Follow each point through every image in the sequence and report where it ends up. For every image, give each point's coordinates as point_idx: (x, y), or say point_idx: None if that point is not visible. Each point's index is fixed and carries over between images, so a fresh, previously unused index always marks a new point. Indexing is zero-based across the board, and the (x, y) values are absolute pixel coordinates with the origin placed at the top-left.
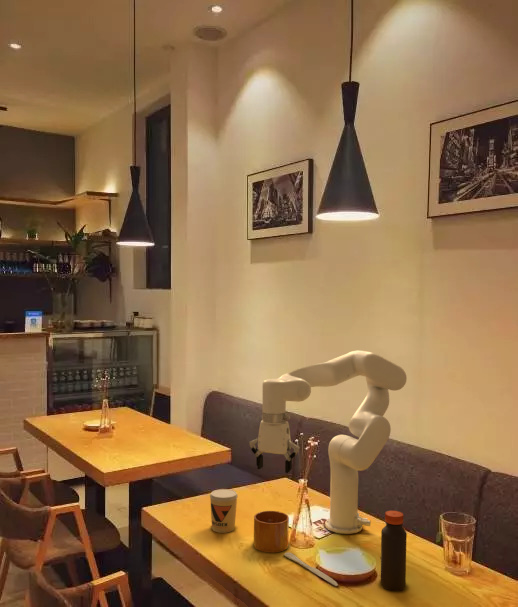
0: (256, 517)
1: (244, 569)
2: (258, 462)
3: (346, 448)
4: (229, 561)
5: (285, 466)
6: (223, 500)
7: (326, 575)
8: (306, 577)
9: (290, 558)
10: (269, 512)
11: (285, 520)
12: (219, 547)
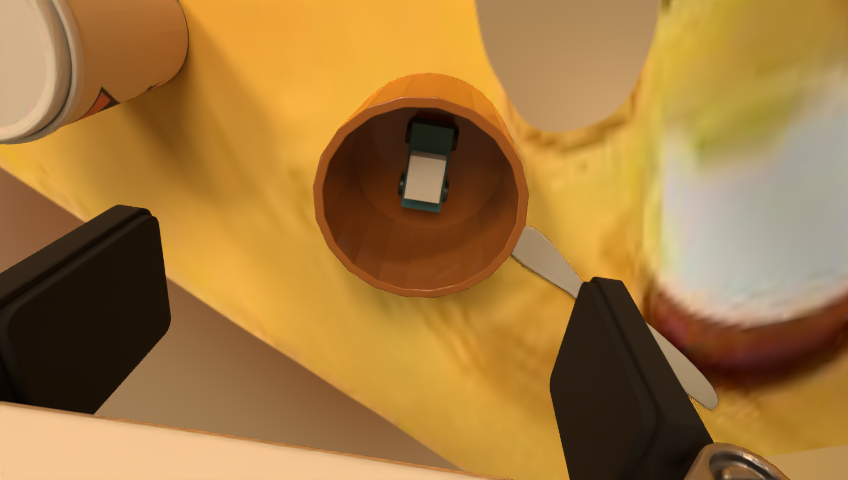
0: (326, 195)
1: (390, 368)
2: (93, 399)
3: None
4: (319, 331)
5: (568, 455)
6: (36, 139)
7: (682, 360)
8: None
9: (538, 273)
10: (381, 113)
11: (513, 235)
12: (229, 238)
